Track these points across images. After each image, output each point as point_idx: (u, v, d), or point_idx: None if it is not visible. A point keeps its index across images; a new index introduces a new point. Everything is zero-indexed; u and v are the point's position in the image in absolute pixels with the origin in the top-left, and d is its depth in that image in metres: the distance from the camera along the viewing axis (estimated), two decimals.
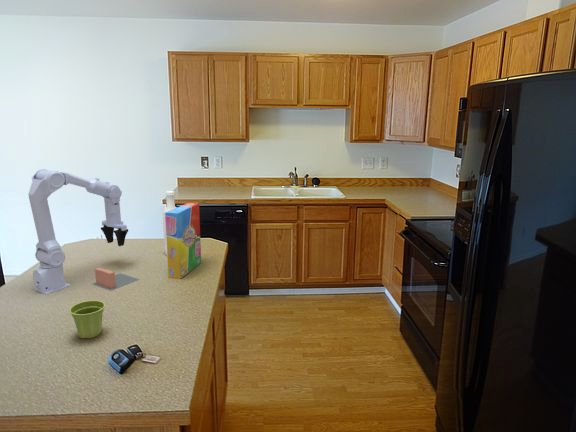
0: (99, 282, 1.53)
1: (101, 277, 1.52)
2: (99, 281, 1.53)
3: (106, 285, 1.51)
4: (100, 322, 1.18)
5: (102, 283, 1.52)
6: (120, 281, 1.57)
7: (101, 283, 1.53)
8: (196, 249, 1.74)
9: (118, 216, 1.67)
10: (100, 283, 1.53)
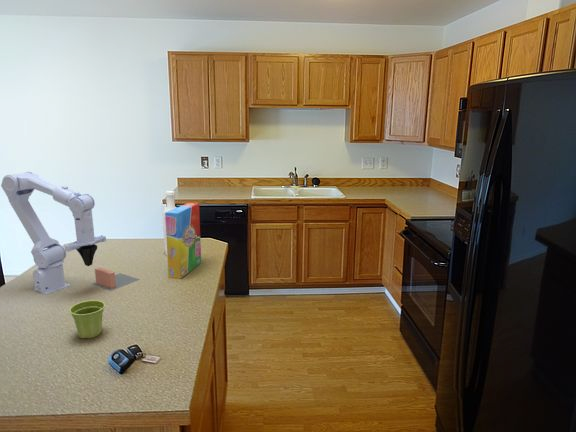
0: (99, 282, 1.53)
1: (101, 277, 1.52)
2: (99, 281, 1.53)
3: (106, 285, 1.51)
4: (100, 322, 1.18)
5: (102, 283, 1.52)
6: (120, 281, 1.57)
7: (101, 283, 1.53)
8: (196, 249, 1.74)
9: (78, 234, 1.40)
10: (100, 283, 1.53)
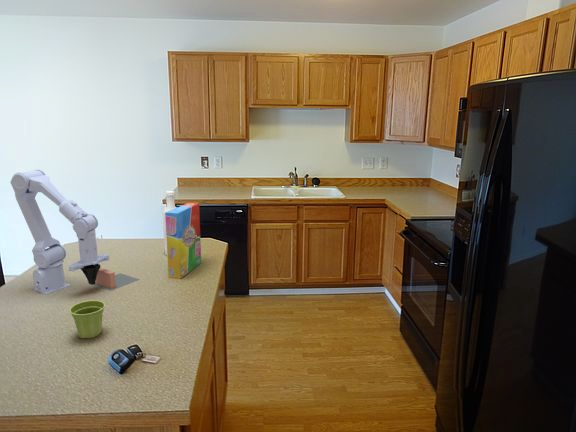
0: (99, 282, 1.53)
1: (101, 277, 1.52)
2: (99, 281, 1.53)
3: (106, 285, 1.51)
4: (100, 322, 1.18)
5: (102, 283, 1.52)
6: (120, 281, 1.57)
7: (101, 283, 1.53)
8: (196, 249, 1.74)
9: (82, 254, 1.42)
10: (100, 283, 1.53)
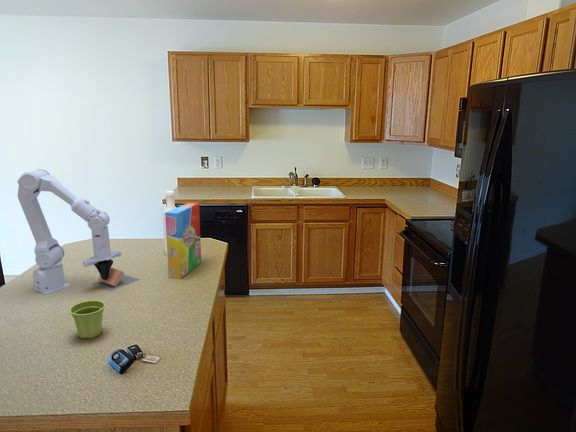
0: (101, 278, 1.54)
1: None
2: None
3: (108, 281, 1.52)
4: (100, 322, 1.18)
5: None
6: (120, 281, 1.57)
7: None
8: (196, 249, 1.74)
9: (96, 250, 1.47)
10: (102, 279, 1.54)
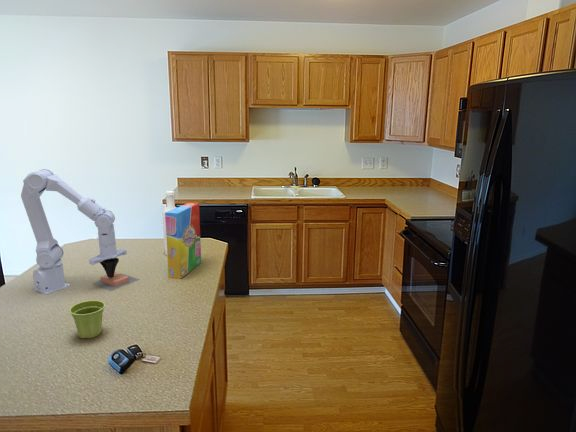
0: (106, 277, 1.56)
1: (114, 276, 1.57)
2: (107, 277, 1.56)
3: (112, 279, 1.53)
4: (100, 322, 1.18)
5: (109, 278, 1.55)
6: None
7: (107, 278, 1.55)
8: (196, 249, 1.74)
9: (102, 248, 1.49)
10: (106, 277, 1.55)
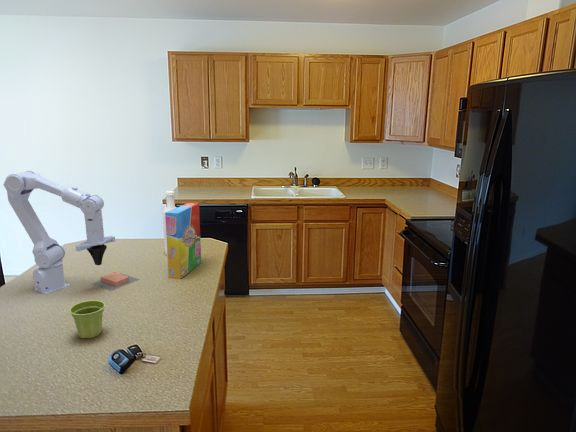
0: (106, 277, 1.56)
1: (114, 276, 1.57)
2: (107, 277, 1.56)
3: (112, 279, 1.53)
4: (100, 322, 1.18)
5: (109, 278, 1.55)
6: None
7: (107, 278, 1.55)
8: (196, 249, 1.74)
9: (89, 234, 1.44)
10: (106, 277, 1.55)
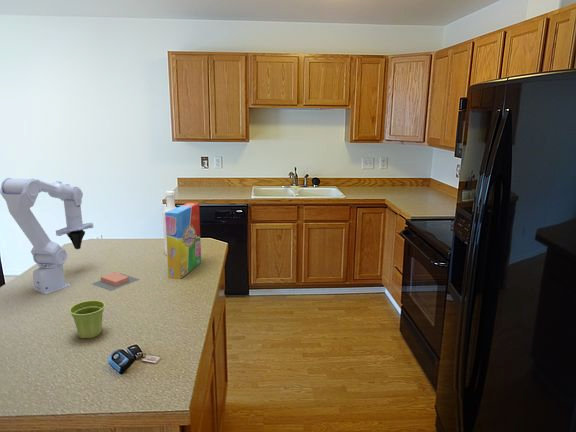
0: (106, 277, 1.56)
1: (114, 276, 1.57)
2: (107, 277, 1.56)
3: (112, 279, 1.53)
4: (100, 322, 1.18)
5: (109, 278, 1.55)
6: None
7: (107, 278, 1.55)
8: (196, 249, 1.74)
9: (68, 220, 1.58)
10: (106, 277, 1.55)
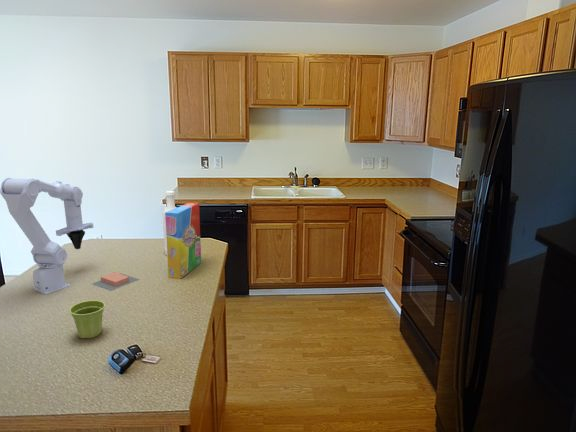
0: (106, 277, 1.56)
1: (114, 276, 1.57)
2: (107, 277, 1.56)
3: (112, 279, 1.53)
4: (100, 322, 1.18)
5: (109, 278, 1.55)
6: None
7: (107, 278, 1.55)
8: (196, 249, 1.74)
9: (68, 220, 1.58)
10: (106, 277, 1.55)
